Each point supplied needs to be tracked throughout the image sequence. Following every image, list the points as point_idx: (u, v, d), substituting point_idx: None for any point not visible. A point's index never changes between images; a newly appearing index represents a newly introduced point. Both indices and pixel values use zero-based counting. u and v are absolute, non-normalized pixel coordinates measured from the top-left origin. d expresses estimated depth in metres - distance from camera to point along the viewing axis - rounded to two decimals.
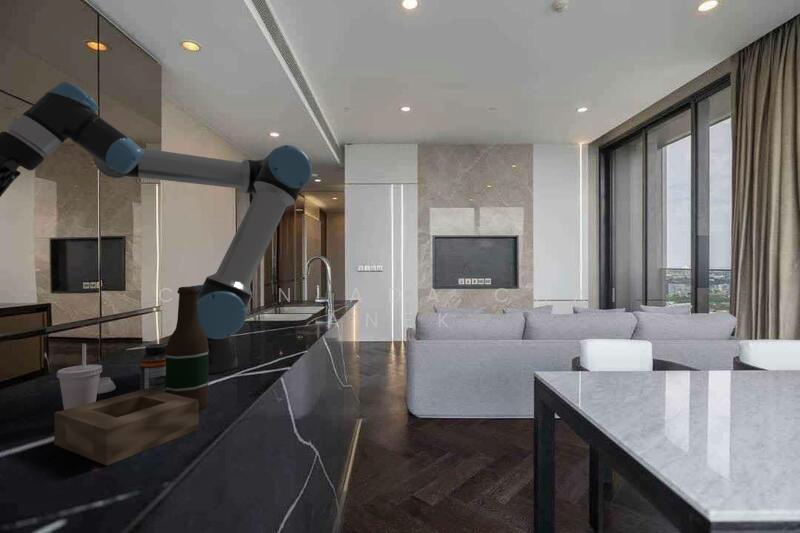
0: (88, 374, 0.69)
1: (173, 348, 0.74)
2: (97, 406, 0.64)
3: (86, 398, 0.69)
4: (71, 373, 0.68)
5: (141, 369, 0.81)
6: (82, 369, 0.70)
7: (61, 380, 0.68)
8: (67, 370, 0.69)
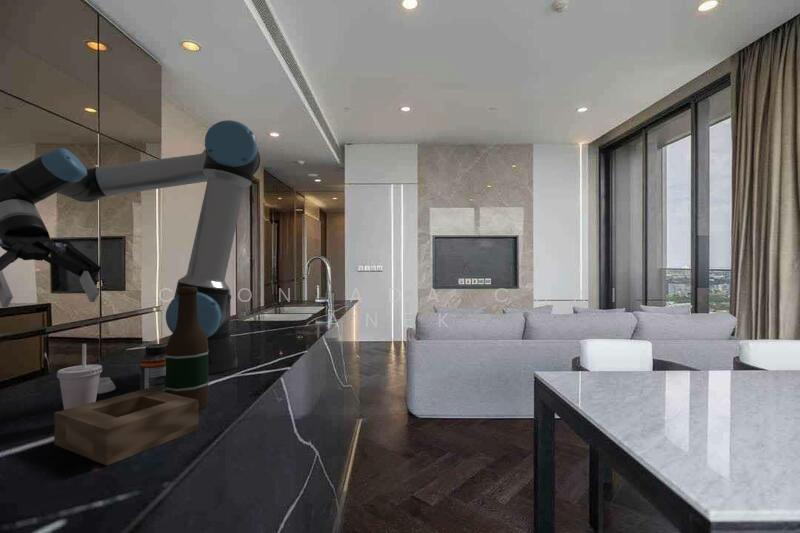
0: (88, 374, 0.69)
1: (173, 348, 0.74)
2: (97, 406, 0.64)
3: (86, 398, 0.69)
4: (71, 373, 0.68)
5: (141, 369, 0.82)
6: (82, 369, 0.70)
7: (61, 380, 0.68)
8: (67, 370, 0.69)
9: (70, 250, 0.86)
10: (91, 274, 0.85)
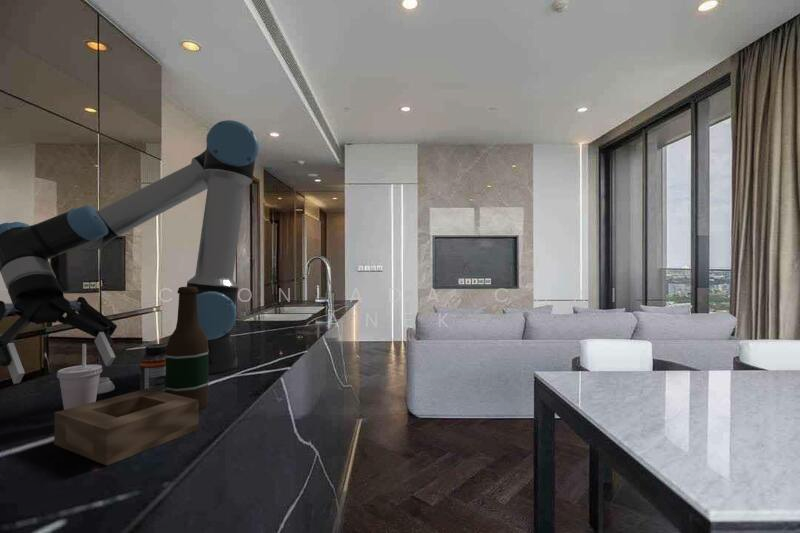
0: (88, 374, 0.69)
1: (173, 348, 0.74)
2: (97, 406, 0.64)
3: (86, 398, 0.69)
4: (71, 373, 0.68)
5: (141, 369, 0.81)
6: (82, 369, 0.70)
7: (61, 380, 0.68)
8: (67, 370, 0.69)
9: (85, 308, 0.81)
10: (107, 334, 0.80)
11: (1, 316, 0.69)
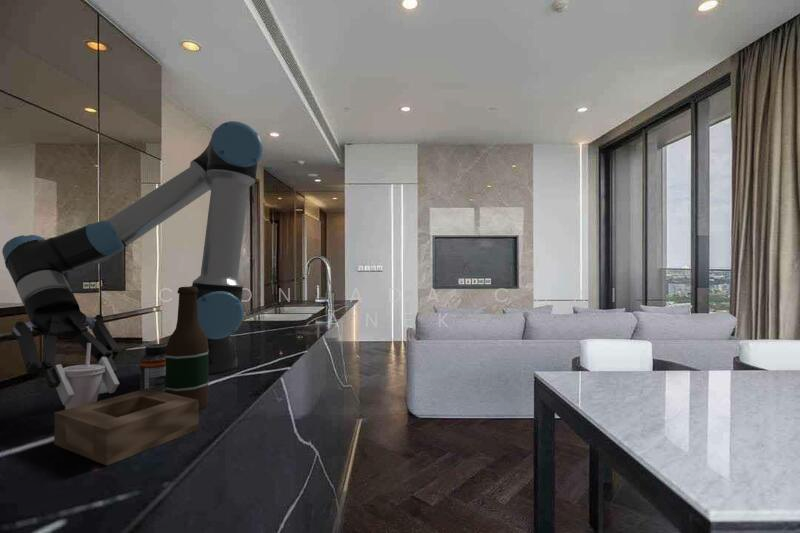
0: (91, 374, 0.69)
1: (173, 348, 0.74)
2: (97, 406, 0.64)
3: (87, 397, 0.69)
4: (75, 371, 0.68)
5: (141, 369, 0.81)
6: (85, 368, 0.70)
7: None
8: (71, 368, 0.69)
9: (97, 326, 0.78)
10: (109, 359, 0.75)
11: (31, 336, 0.69)
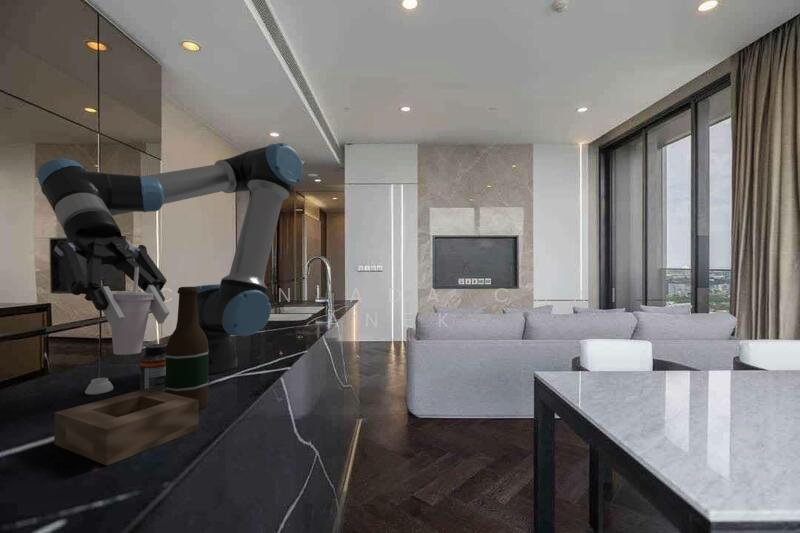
0: (141, 298, 0.63)
1: (173, 348, 0.74)
2: (97, 406, 0.64)
3: (136, 324, 0.63)
4: (123, 294, 0.61)
5: (141, 369, 0.81)
6: (134, 293, 0.63)
7: None
8: (118, 293, 0.63)
9: (141, 256, 0.72)
10: (157, 288, 0.69)
11: (75, 256, 0.62)
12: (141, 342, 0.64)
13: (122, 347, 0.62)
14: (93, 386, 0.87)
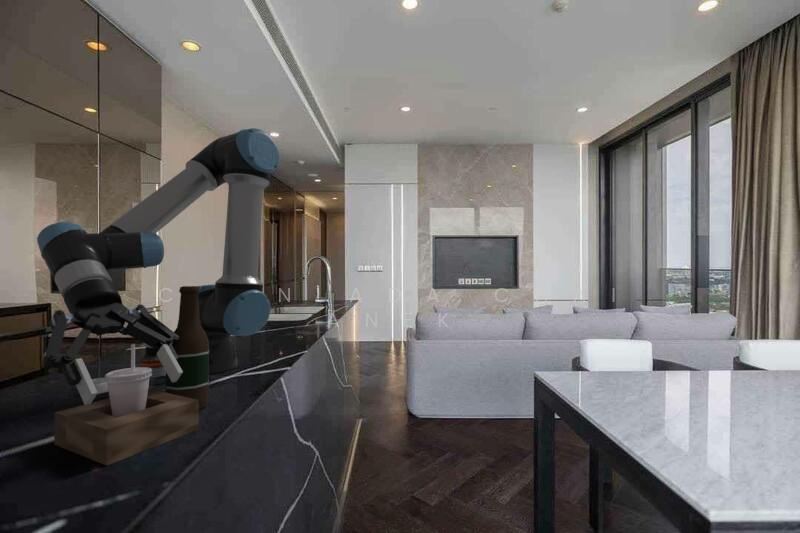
0: (139, 378, 0.63)
1: (174, 347, 0.75)
2: (97, 406, 0.64)
3: (136, 404, 0.63)
4: (121, 377, 0.61)
5: None
6: (132, 372, 0.63)
7: (110, 385, 0.61)
8: (116, 374, 0.62)
9: (145, 317, 0.73)
10: (170, 346, 0.72)
11: (64, 328, 0.61)
12: None
13: None
14: None
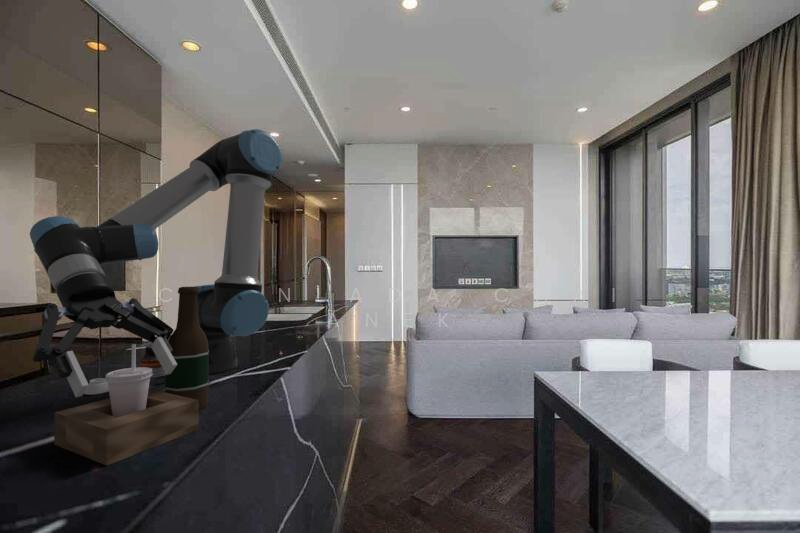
0: (140, 378, 0.63)
1: (174, 348, 0.74)
2: (97, 406, 0.64)
3: (137, 404, 0.63)
4: (122, 377, 0.61)
5: None
6: (132, 372, 0.63)
7: (110, 385, 0.61)
8: (116, 374, 0.62)
9: (139, 311, 0.73)
10: (164, 339, 0.72)
11: (56, 321, 0.61)
12: None
13: None
14: (92, 386, 0.86)
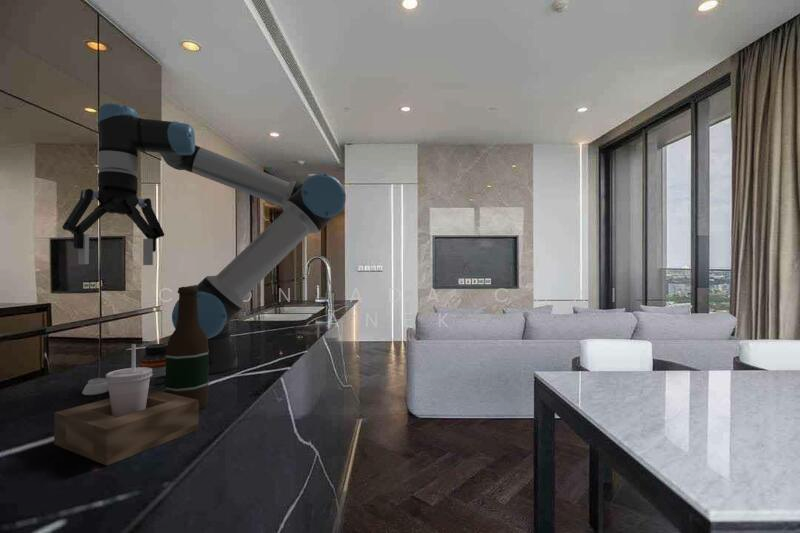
0: (139, 378, 0.63)
1: (173, 348, 0.74)
2: (97, 406, 0.64)
3: (137, 404, 0.63)
4: (122, 377, 0.61)
5: None
6: (132, 372, 0.63)
7: (110, 385, 0.61)
8: (116, 373, 0.62)
9: (147, 211, 0.96)
10: (154, 240, 0.98)
11: (87, 205, 0.85)
12: None
13: None
14: (90, 386, 0.86)
